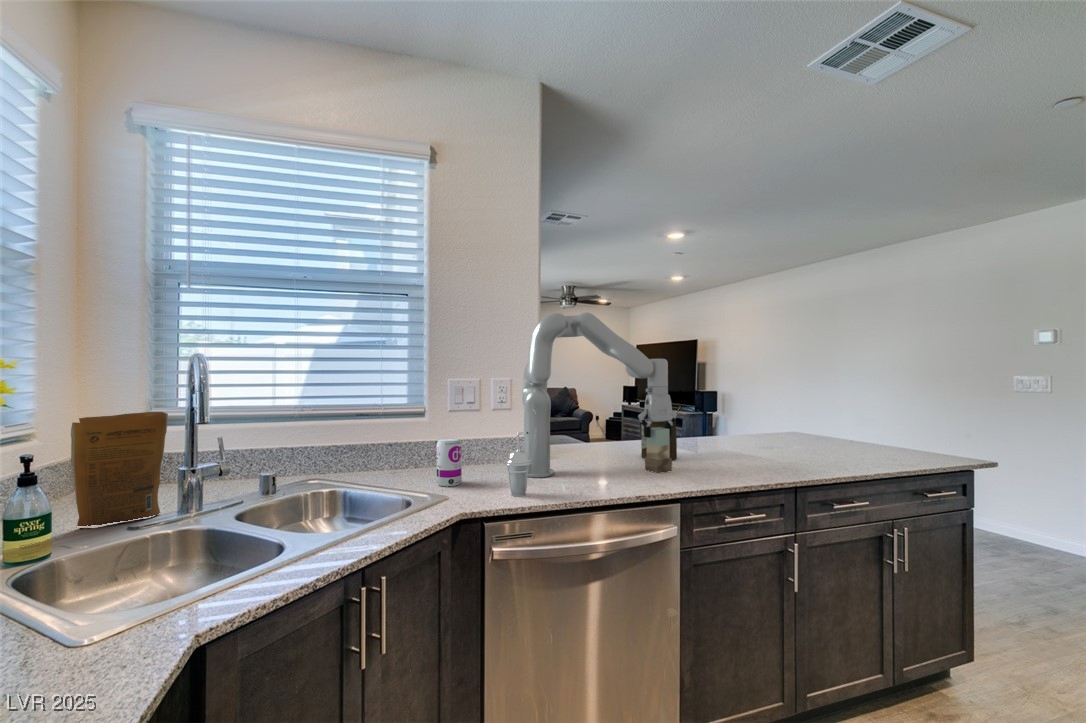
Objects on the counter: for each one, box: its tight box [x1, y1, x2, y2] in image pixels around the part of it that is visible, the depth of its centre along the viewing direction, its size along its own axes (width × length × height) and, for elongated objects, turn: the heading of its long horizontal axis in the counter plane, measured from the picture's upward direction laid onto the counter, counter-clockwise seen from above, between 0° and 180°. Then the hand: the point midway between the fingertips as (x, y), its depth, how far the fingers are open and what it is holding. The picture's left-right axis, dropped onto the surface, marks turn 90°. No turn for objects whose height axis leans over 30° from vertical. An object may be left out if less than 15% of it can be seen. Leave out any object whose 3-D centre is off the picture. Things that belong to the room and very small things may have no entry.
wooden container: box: [640, 417, 678, 461], centre depth 210 cm, size 15×15×22 cm
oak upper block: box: [647, 444, 670, 460], centre depth 185 cm, size 6×6×5 cm
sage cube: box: [647, 427, 669, 446], centre depth 185 cm, size 6×6×6 cm
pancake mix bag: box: [70, 411, 169, 527], centre depth 125 cm, size 7×19×28 cm, turn 137°
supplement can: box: [436, 437, 463, 488], centre depth 165 cm, size 8×8×15 cm
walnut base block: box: [644, 457, 673, 474], centre depth 185 cm, size 7×7×5 cm
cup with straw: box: [504, 431, 532, 497], centre depth 151 cm, size 8×9×20 cm
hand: (657, 436), depth 185 cm, fingers open, 9 cm apart
